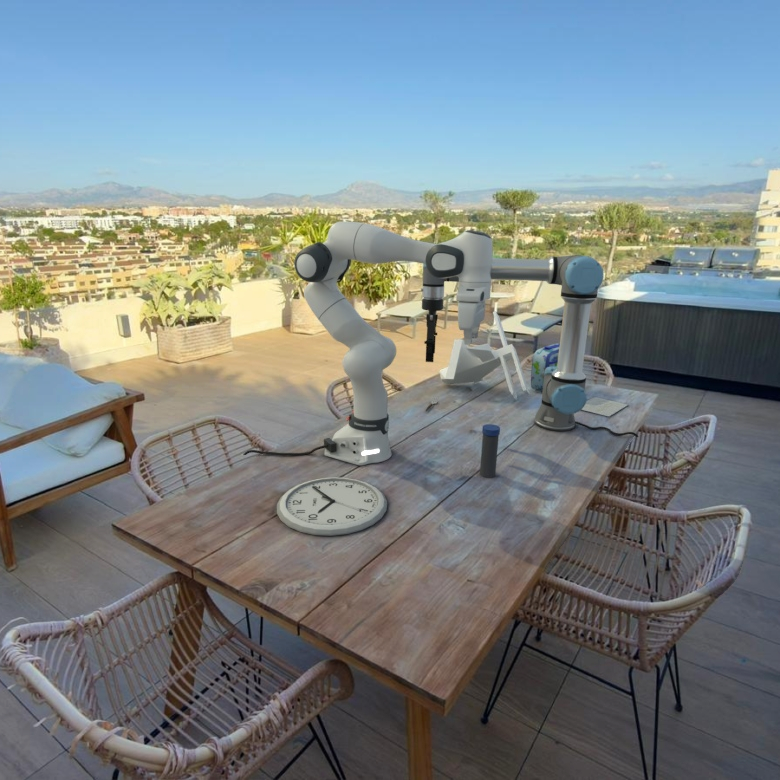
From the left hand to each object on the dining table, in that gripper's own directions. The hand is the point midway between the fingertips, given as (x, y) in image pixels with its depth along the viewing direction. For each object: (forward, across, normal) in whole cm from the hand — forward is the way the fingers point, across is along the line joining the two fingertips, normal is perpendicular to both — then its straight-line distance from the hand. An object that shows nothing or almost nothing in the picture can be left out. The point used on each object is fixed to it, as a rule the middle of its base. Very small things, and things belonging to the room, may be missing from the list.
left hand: (471, 341), depth 149 cm
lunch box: (+42, -108, +20) cm, 117 cm away
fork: (+42, -59, -26) cm, 77 cm away
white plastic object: (+42, -87, -11) cm, 98 cm away
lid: (+27, -4, +7) cm, 28 cm away
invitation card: (+42, -87, +42) cm, 106 cm away
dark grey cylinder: (+42, -4, +7) cm, 43 cm away
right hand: (+14, -33, -21) cm, 42 cm away
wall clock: (+42, +31, -30) cm, 60 cm away
